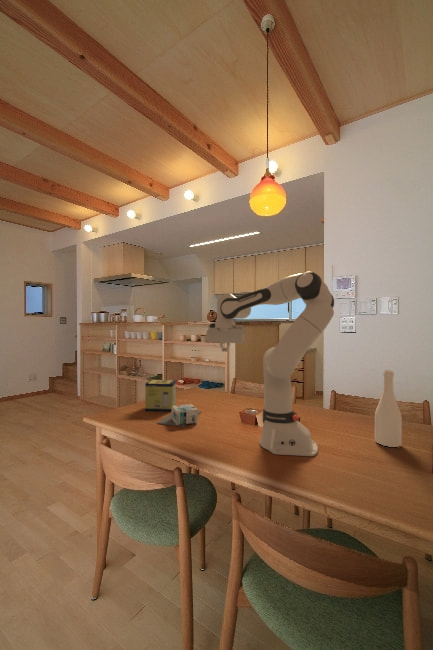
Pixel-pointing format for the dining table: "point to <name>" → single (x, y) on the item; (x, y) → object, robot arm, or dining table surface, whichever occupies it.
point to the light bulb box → (184, 414)
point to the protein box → (160, 395)
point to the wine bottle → (388, 415)
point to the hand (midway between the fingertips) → (224, 351)
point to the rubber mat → (171, 421)
